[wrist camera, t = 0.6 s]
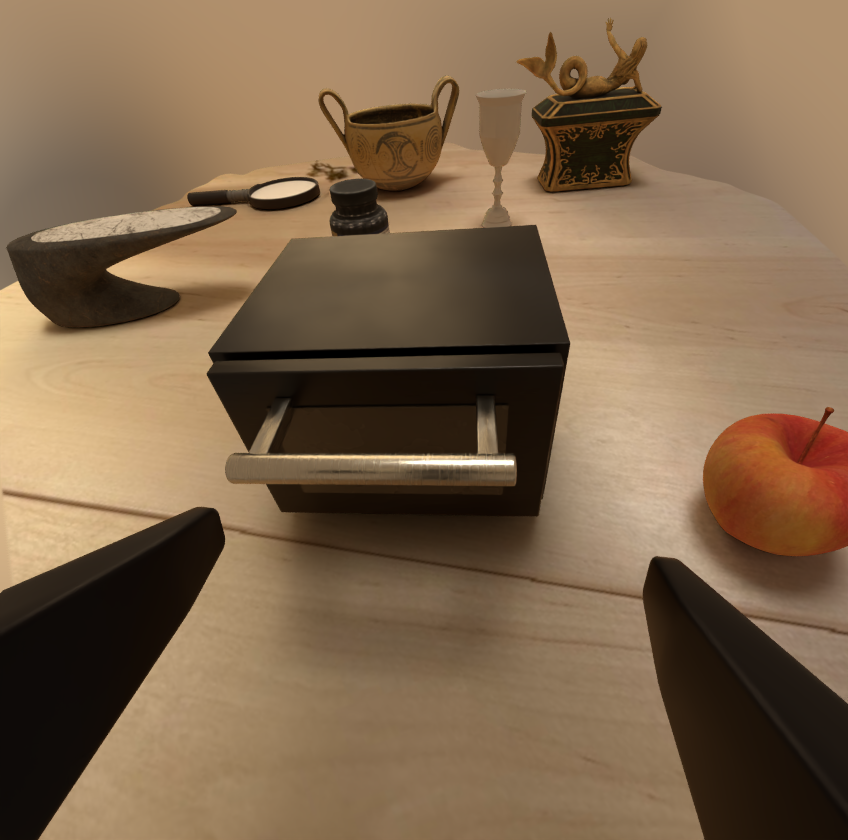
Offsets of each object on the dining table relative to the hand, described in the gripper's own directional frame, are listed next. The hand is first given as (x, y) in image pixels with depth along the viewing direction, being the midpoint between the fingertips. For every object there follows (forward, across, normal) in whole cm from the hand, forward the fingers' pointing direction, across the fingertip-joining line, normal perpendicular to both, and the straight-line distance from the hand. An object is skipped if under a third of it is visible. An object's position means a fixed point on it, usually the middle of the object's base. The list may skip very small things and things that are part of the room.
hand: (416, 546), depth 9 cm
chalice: (+62, +1, -5) cm, 62 cm away
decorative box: (+78, -10, -11) cm, 79 cm away
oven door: (+12, +4, +10) cm, 16 cm away
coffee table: (+40, +40, +3) cm, 57 cm away
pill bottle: (+44, +14, +1) cm, 46 cm away
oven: (+21, +4, +9) cm, 24 cm away
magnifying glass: (+75, +45, -9) cm, 88 cm away
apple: (+17, -16, +11) cm, 26 cm away
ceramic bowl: (+80, +20, -11) cm, 83 cm away
